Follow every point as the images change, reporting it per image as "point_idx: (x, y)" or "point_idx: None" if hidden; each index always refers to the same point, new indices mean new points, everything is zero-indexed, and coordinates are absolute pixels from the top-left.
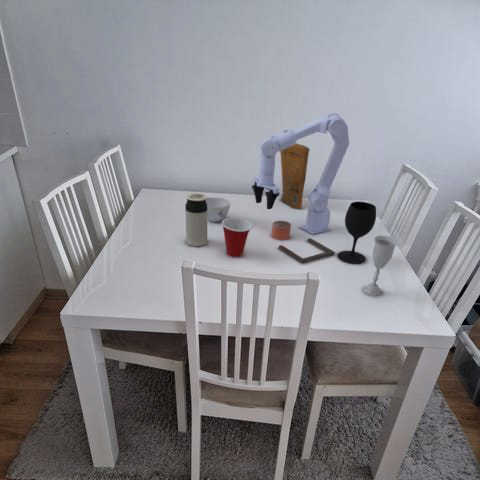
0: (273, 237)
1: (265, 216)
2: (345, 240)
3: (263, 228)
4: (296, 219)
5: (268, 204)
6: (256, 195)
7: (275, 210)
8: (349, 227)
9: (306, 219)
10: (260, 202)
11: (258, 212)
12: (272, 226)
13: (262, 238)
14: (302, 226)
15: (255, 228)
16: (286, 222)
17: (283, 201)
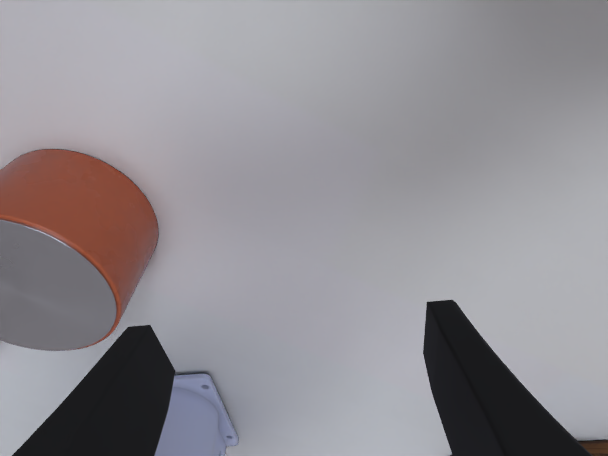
0: (35, 152)
1: (479, 287)
2: (23, 443)
3: (265, 168)
4: (334, 399)
5: (63, 401)
6: (489, 428)
7: (522, 373)
8: None
9: (167, 443)
10: (423, 350)
11: (580, 279)
12: (19, 203)
13: (24, 42)
14: (208, 385)
15: (288, 97)
16: (68, 338)
17: (587, 446)
